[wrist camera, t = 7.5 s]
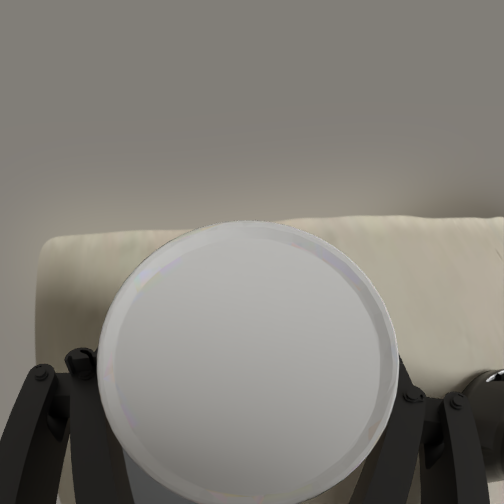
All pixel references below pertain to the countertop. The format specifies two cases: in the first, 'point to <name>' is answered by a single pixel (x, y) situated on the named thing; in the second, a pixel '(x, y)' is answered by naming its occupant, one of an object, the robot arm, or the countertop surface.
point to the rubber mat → (149, 487)
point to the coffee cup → (247, 365)
